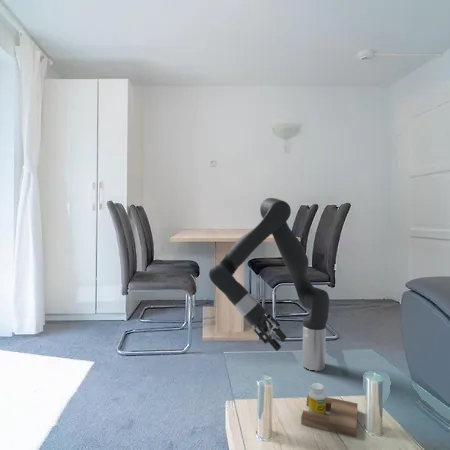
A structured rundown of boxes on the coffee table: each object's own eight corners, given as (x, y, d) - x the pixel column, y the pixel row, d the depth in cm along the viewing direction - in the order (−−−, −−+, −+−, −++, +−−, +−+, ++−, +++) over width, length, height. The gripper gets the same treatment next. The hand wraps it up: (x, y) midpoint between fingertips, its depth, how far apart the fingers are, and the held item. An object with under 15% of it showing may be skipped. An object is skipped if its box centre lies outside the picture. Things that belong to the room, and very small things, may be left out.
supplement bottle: (316, 407, 120) (316, 380, 119) (328, 415, 115) (329, 387, 115) (304, 412, 117) (305, 384, 116) (317, 421, 112) (318, 392, 112)
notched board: (308, 400, 124) (308, 393, 124) (357, 410, 118) (357, 403, 118) (301, 423, 111) (301, 416, 111) (355, 436, 105) (356, 428, 105)
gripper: (251, 308, 120) (285, 346, 117) (262, 296, 133) (293, 330, 130) (236, 322, 123) (269, 359, 119) (249, 308, 136) (279, 342, 133)
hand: (282, 343), depth 125 cm, fingers open, 8 cm apart
